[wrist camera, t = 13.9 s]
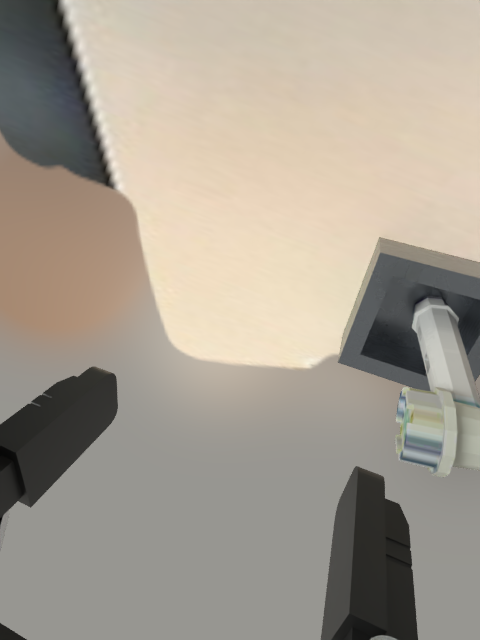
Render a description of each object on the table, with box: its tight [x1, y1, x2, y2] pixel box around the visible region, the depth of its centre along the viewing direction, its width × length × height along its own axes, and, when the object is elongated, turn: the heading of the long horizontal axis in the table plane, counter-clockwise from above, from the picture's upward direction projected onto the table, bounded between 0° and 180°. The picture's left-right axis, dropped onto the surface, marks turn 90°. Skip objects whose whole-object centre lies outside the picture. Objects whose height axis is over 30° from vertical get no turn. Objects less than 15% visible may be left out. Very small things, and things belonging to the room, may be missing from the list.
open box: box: [338, 237, 480, 391], centre depth 40 cm, size 14×14×8 cm
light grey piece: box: [395, 296, 480, 477], centre depth 31 cm, size 5×7×25 cm
